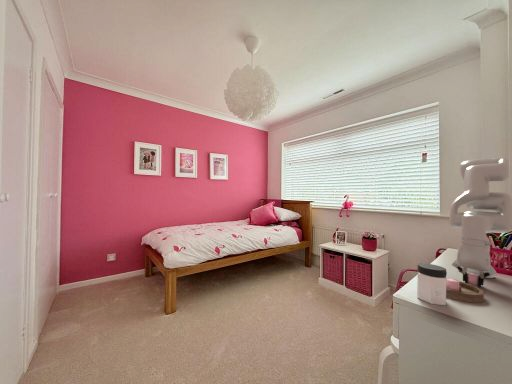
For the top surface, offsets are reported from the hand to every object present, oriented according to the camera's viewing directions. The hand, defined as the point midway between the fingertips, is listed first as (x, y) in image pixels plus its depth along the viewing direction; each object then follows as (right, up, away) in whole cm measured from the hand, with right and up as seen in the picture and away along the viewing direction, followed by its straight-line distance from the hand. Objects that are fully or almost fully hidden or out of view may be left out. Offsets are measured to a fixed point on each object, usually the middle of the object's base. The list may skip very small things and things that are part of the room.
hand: (472, 284), depth 91 cm
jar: (-31, +1, -15) cm, 34 cm away
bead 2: (0, 0, 0) cm, 0 cm away
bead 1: (-19, +2, -11) cm, 22 cm away
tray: (-16, 0, -8) cm, 18 cm away
